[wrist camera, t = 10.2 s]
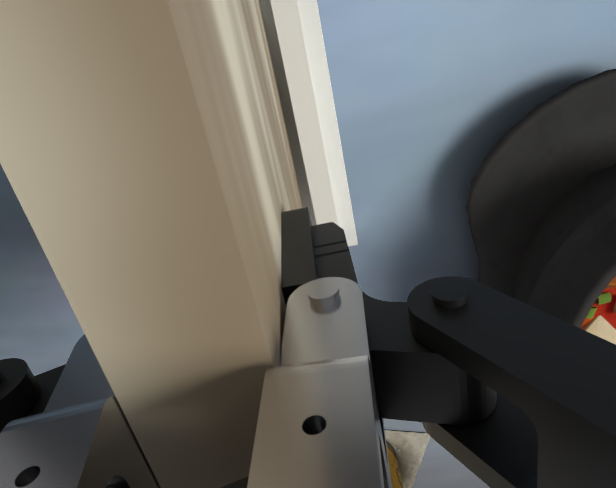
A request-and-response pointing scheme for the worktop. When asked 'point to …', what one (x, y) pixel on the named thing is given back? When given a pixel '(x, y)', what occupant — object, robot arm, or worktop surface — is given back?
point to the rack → (309, 110)
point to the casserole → (554, 208)
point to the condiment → (405, 456)
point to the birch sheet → (158, 207)
